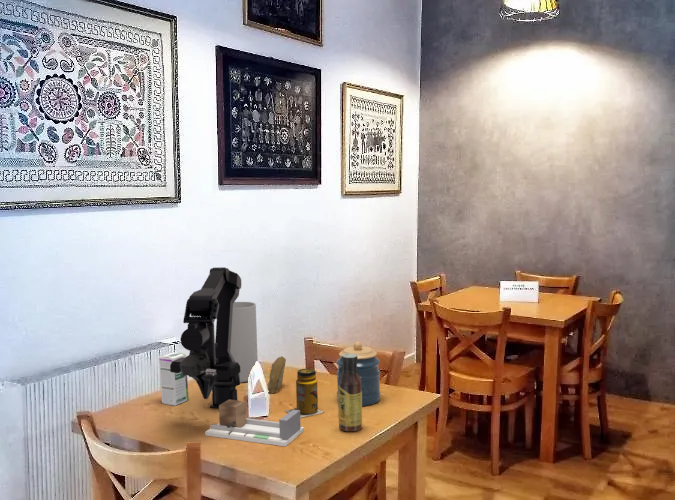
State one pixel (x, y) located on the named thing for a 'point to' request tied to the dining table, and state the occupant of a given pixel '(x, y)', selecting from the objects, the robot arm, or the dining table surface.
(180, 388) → the syrup box
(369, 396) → the canister
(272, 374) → the rock
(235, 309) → the cylinder vase
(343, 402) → the sauce bottle
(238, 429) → the gauge base
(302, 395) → the condiment
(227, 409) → the brown cardboard cube
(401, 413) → the dining table surface
